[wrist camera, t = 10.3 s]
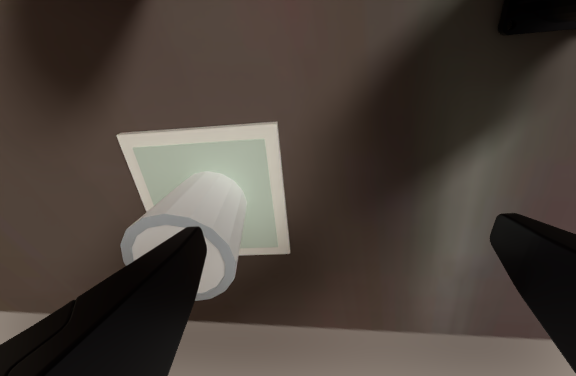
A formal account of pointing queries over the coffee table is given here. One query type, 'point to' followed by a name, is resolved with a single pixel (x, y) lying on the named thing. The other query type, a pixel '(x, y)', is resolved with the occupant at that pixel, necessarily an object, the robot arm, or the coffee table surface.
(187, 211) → the white-topped cylinder
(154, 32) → the coffee table surface
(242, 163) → the plate
